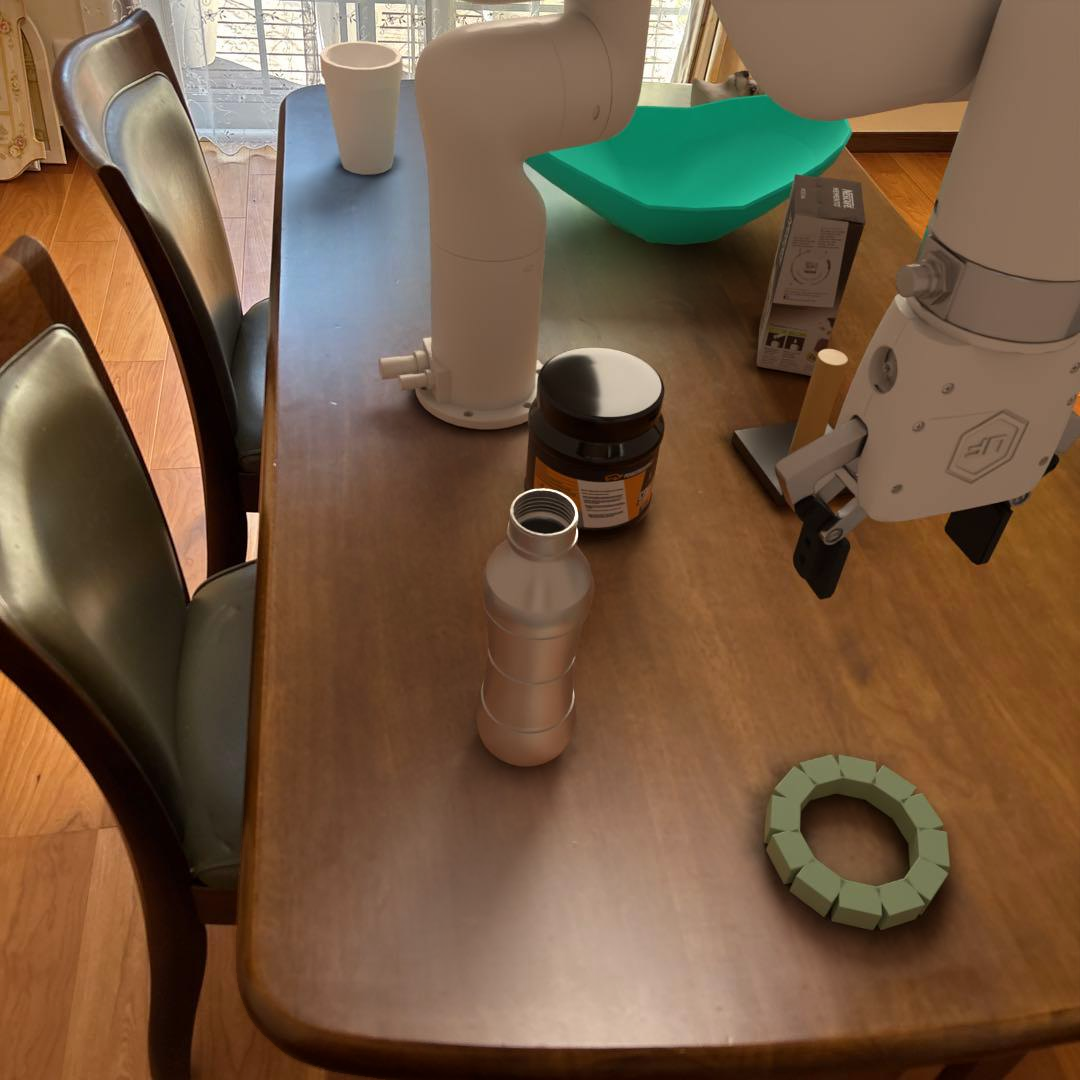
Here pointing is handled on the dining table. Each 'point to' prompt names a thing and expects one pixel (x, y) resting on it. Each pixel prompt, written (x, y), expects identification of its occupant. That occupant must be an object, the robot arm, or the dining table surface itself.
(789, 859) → the ring
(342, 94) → the foam cup
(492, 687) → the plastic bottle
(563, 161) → the table top decor
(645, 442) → the supplement container
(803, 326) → the coffee box
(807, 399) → the peg stand
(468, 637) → the dining table surface
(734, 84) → the ceramic sculpture
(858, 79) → the robot arm
